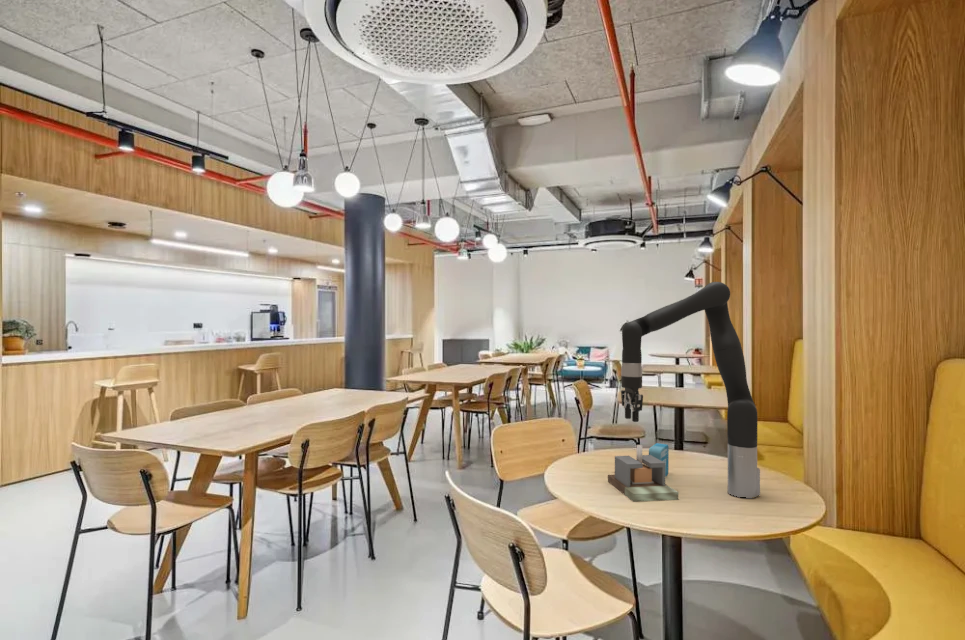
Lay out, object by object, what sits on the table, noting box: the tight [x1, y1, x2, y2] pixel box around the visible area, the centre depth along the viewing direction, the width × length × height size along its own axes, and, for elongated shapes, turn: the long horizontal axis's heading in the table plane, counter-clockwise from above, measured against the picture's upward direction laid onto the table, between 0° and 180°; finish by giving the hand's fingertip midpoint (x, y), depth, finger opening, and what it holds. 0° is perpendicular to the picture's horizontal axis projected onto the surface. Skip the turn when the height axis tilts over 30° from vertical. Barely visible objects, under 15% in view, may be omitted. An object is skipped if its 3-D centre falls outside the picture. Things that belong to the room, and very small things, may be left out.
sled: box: [630, 444, 654, 484], centre depth 181 cm, size 8×6×13 cm
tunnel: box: [614, 454, 666, 487], centre depth 181 cm, size 14×11×8 cm
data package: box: [648, 443, 670, 478], centre depth 195 cm, size 12×4×12 cm, turn 146°
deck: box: [607, 473, 680, 503], centre depth 179 cm, size 16×22×2 cm
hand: (631, 419), depth 187 cm, fingers open, 5 cm apart
